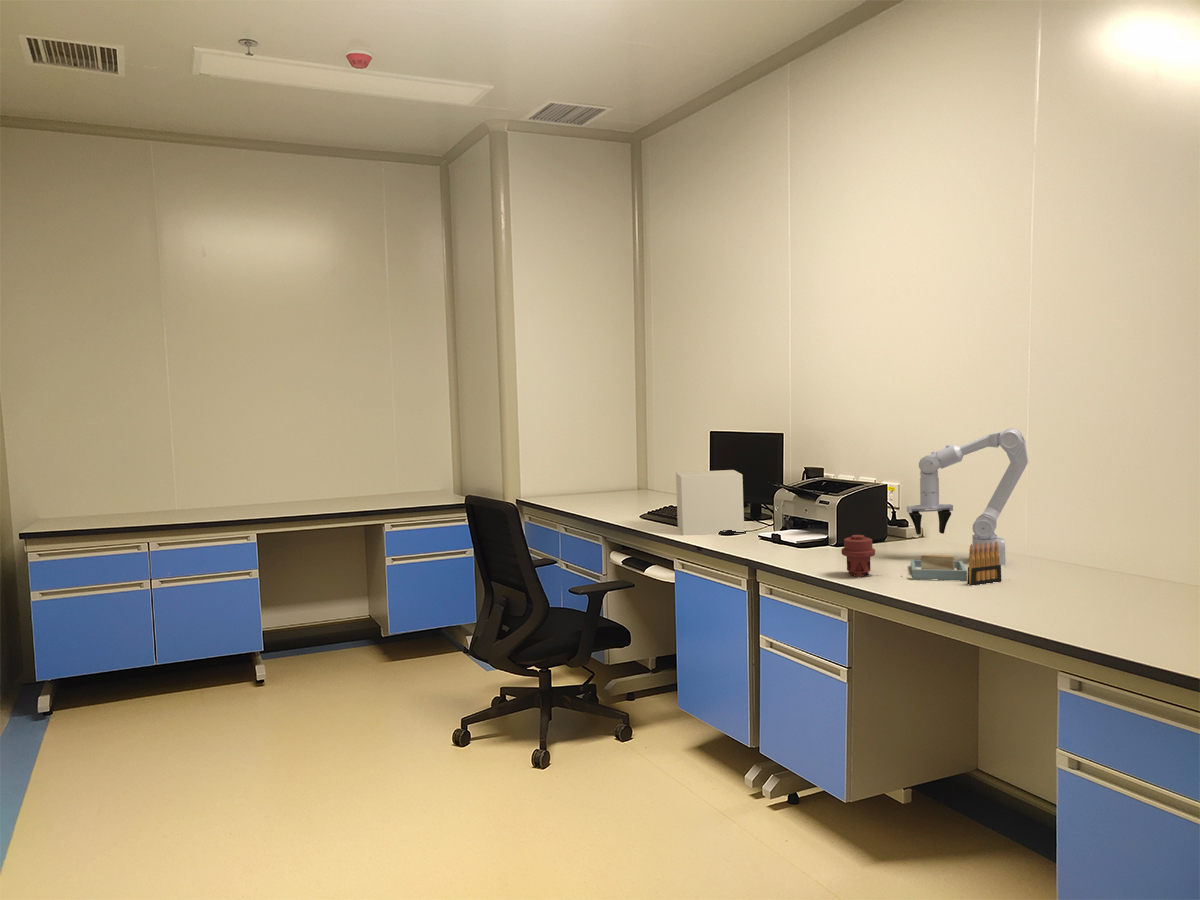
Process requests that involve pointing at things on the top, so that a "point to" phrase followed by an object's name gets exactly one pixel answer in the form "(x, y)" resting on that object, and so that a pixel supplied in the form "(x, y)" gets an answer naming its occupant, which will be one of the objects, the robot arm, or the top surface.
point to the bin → (939, 572)
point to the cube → (709, 502)
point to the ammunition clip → (984, 564)
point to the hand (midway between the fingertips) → (930, 533)
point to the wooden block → (937, 562)
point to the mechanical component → (858, 554)
